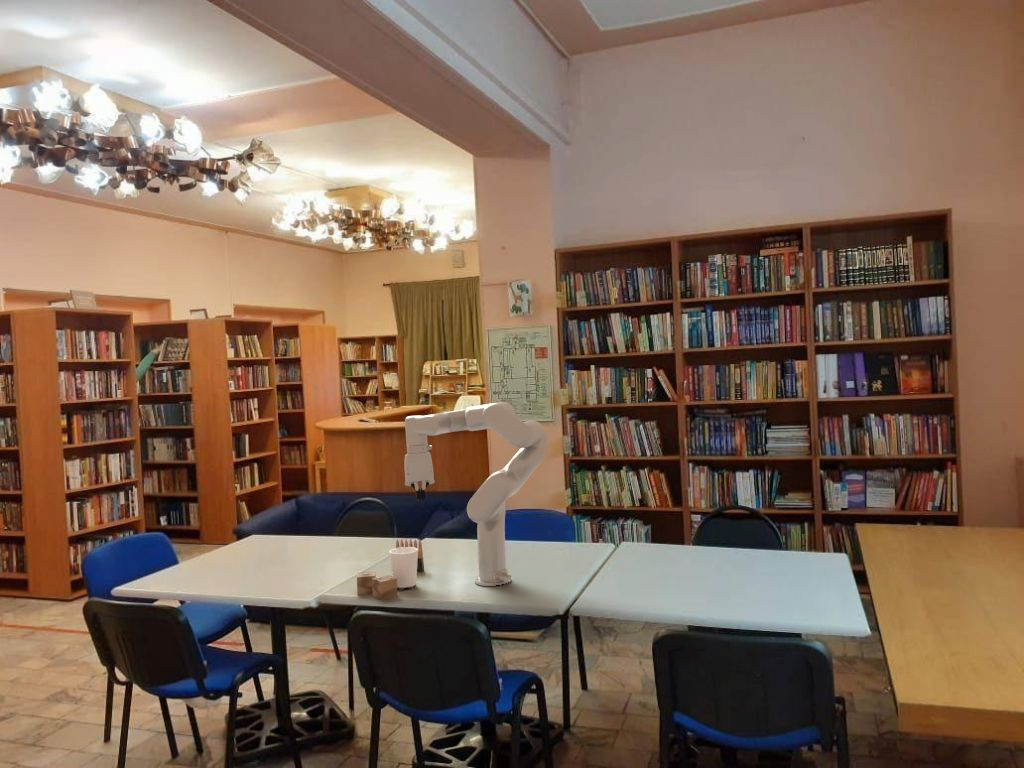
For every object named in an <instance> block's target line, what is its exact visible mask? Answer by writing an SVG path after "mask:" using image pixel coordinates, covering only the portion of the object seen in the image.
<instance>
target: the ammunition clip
mask: <svg viewBox="0 0 1024 768" xmlns="http://www.w3.org/2000/svg"><path fill="white" fill-rule="evenodd" d="M413 541H414V542H413ZM408 542H409V543H408ZM422 546H423V545H422V540H421V539H419V540H418V542H417V539H414V540H412V539H411V538H410V539H409V541H408V539H407V538H406V539H405V541H404V540H403V539H402V538H401V539H400V541H399V539H398V538H397V539H396V542H395V548H400V547H414V548H417V549H418V559H417V573H423V572H424V571H425V566H424V565H425V564H424V563H425V562H424V553H423V547H422Z"/></svg>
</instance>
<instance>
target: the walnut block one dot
mask: <svg viewBox="0 0 1024 768" xmlns="http://www.w3.org/2000/svg"><path fill="white" fill-rule="evenodd" d="M376 577H377V575H376V571H364V572H363V571H360V572H357V575H356V589H357V590H356V591H357V592H356V593H357V596H362V595H364V596H365V595H373V590H372V578H376Z"/></svg>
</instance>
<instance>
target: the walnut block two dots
mask: <svg viewBox="0 0 1024 768" xmlns="http://www.w3.org/2000/svg"><path fill="white" fill-rule="evenodd" d="M372 590H373V594H372V597H374V598H376V599H378V600H381V601H382V600H383V601H384V600H387V599H390V597H391V598H394V596H395V597H398V588H397V578H395V577H393V575H390V574H386V575H381V576H376V578H372Z"/></svg>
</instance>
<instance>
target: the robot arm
mask: <svg viewBox="0 0 1024 768" xmlns="http://www.w3.org/2000/svg"><path fill="white" fill-rule="evenodd" d="M404 426H405V427H404V428H405V441H406V454H404V480H405V481H404V486H405V487H412V489H414V490H415V495H416V500H418V502H419V503H420V502H424V501H425V500H424V499H426V491H425V490H426V489H427V488H428V487H429V485H433V484H435V483H436V481H435V477H434V476H435V475H434V474H435V473H434V465H433V460H432V455H431V452H429V451H430V450H433V445H429V444H428V443H429V442H428V436H430V437H431V436H433V437H434V436H439V435H443V434H448V433H453V432H454V433H455V432H460V431H461V432H462V431H469V432H474V431H483V430H487V429H488V430H489V429H490V430H491V431H493V432H494V433H496V434H497V435H498V436H499V437H501V438H502V439H503V440H505V441H506V442H507V443H510V445H512V446H514V447H516V448H519V450H518V451H517V452H516V453H515V454H514V455H513V456H512V458H511V459H510V461H508V463H507V464H506V465H505V466H504V467H503V468H502V469H499V470H497V471H495V472H493V473H492V474H490V475H489V476H488V478H487V479H485V480H484V482H483V483H482V484H481V485H480V487H479V488H478V489H477V491H476V492H475V493H474V494H473V495H472V497H471V498H470V499H469V501H468V503H467V506H466V512H467V516H468V518H469V519H470V520H471V521H472V522H474V523H476V524H477V526H476V527H477V528H476V530H477V556H478V559H477V560H478V576H476V577H475V578H474V583H475V584H476V585H478V586H482V587H483V586H484V587H497V586H496V585H500V586H502V585H501V584H504V585H507V584H509V583H510V582H511V581H512V575H511V574H509V573H508V569H507V558H506V557H507V555H506V554H507V553H506V536H505V535H506V532H505V531H506V530H505V529H506V527H505V526H506V525H505V520H506V501H507V500H508V499H509V498H510V497H512V496H514V495H516V494H517V493H518V492H519V491H520V490H521V488H522V486H523V485H524V484H525V483H526V481H528V479H529V478H530V476H531V475H532V474H533V473H534V471H535V470H536V469H537V468H538V467H539V465H540V464H541V462H542V461H543V460H544V458H545V456H546V454H547V450H548V446H549V437H548V433H547V431H546V429H545V427H544V426H543V425H542V423H540V422H538V421H536V420H526V421H523V420H521V419H520V418H518V417H517V416H516V410H515V408H514V406H513V405H512V404H511V403H509V402H506V401H499V402H493V403H492V402H491V403H487V404H486V403H485V404H480V405H474V406H473V405H472V406H468V407H466V408H464V409H458V410H453V411H444V412H438V413H432V414H427V415H417V414H416V415H409V416H406V417H405V418H404ZM420 482H421V487H420V486H419V484H418V483H420ZM508 582H509V583H508ZM506 583H507V584H506Z"/></svg>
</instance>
